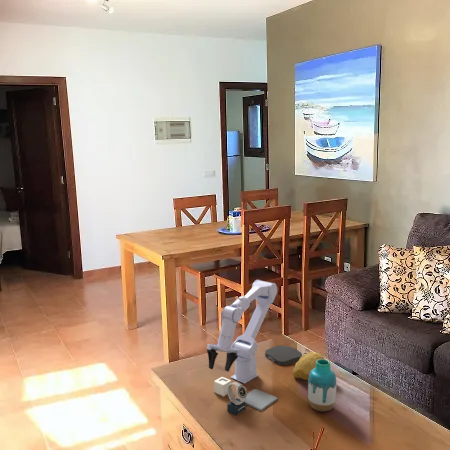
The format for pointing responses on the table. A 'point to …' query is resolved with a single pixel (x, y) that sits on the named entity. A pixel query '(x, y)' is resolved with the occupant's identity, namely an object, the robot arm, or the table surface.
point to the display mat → (259, 399)
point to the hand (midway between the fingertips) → (218, 369)
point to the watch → (236, 404)
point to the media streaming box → (283, 355)
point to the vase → (322, 386)
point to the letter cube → (221, 386)
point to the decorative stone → (306, 365)
